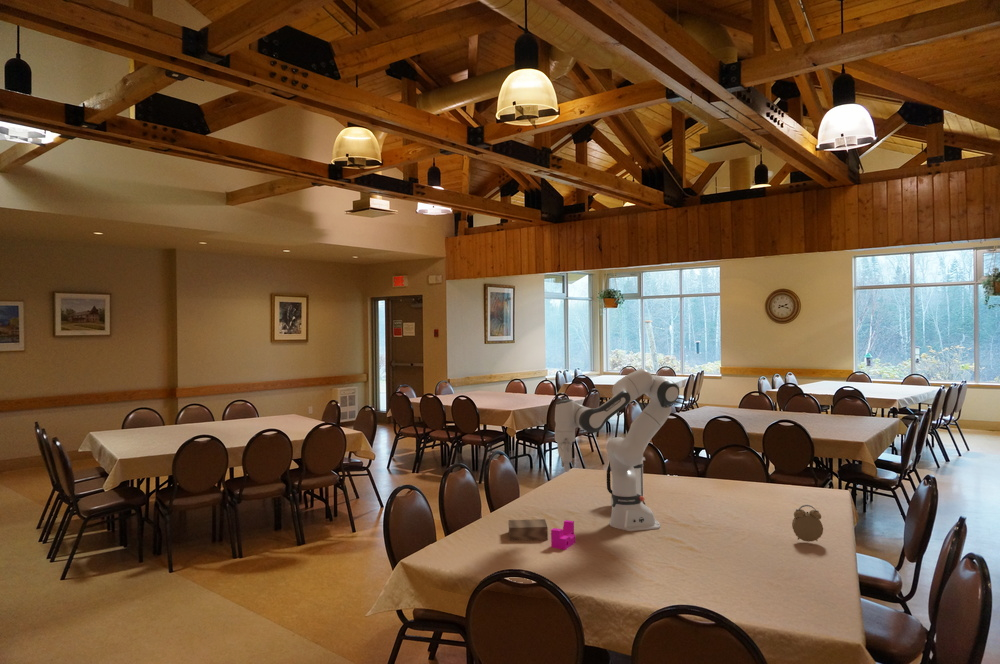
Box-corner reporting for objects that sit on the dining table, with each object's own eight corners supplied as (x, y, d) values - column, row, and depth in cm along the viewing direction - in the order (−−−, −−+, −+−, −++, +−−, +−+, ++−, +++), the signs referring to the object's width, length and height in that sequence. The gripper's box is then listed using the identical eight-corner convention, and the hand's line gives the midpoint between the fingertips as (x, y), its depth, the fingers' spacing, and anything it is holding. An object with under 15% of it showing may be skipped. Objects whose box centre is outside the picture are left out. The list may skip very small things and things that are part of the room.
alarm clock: (821, 540, 256) (821, 504, 256) (824, 544, 251) (823, 507, 251) (792, 538, 259) (791, 502, 259) (793, 541, 255) (793, 505, 255)
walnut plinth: (545, 532, 272) (544, 519, 272) (547, 541, 261) (547, 526, 261) (508, 533, 272) (508, 520, 272) (509, 542, 261) (509, 527, 261)
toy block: (565, 550, 249) (565, 531, 249) (551, 548, 252) (551, 529, 252) (579, 539, 262) (579, 521, 262) (566, 537, 265) (565, 520, 265)
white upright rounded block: (625, 498, 327) (624, 441, 327) (652, 503, 316) (651, 444, 316) (606, 504, 315) (605, 445, 315) (633, 510, 303) (632, 449, 304)
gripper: (575, 440, 258) (575, 474, 258) (569, 433, 279) (569, 464, 279) (560, 440, 258) (560, 474, 258) (555, 433, 279) (555, 464, 279)
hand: (565, 468), depth 269 cm, fingers open, 8 cm apart
